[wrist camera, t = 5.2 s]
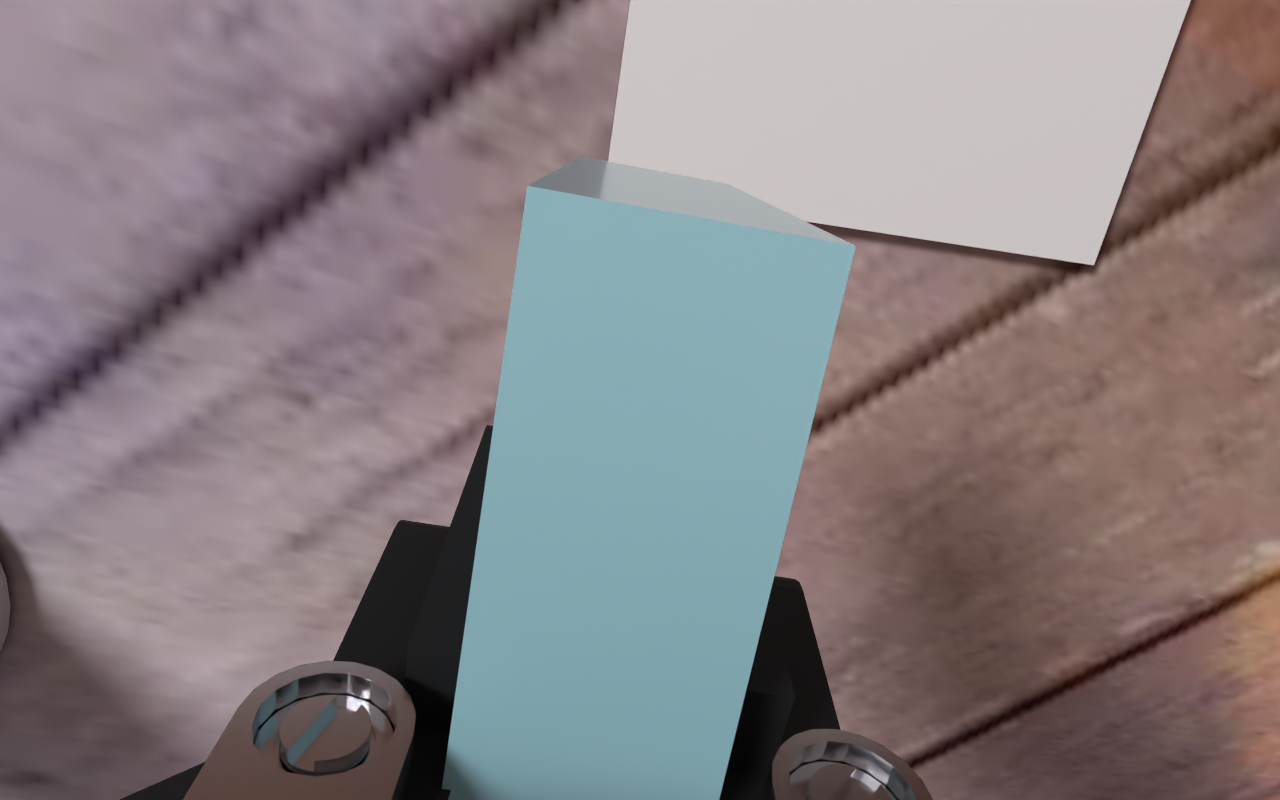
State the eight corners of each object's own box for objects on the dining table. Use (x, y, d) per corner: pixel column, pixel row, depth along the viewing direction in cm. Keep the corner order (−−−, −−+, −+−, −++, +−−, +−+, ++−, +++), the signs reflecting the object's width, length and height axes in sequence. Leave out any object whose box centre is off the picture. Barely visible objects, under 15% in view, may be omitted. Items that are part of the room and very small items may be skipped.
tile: (604, 793, 15) (587, 1332, 8) (484, 777, 15) (368, 1311, 8) (728, 183, 12) (855, 246, 5) (581, 156, 12) (528, 184, 5)
